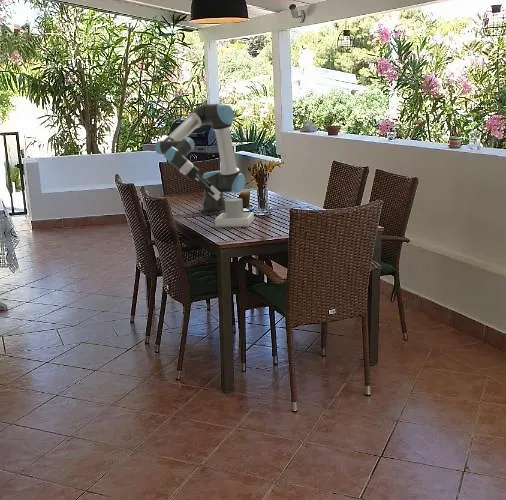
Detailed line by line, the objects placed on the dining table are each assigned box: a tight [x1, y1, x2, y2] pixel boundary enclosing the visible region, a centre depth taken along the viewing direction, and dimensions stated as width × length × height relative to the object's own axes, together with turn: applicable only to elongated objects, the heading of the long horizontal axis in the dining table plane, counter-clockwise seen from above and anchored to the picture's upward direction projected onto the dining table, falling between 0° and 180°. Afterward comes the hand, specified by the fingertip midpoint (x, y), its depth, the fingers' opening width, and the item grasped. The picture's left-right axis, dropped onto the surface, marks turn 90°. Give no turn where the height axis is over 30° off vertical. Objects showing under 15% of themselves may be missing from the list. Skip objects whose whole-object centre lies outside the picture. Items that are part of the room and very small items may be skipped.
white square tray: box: [214, 211, 255, 228], centre depth 385 cm, size 18×18×4 cm
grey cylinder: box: [224, 197, 244, 218], centre depth 384 cm, size 10×10×12 cm
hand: (219, 196), depth 382 cm, fingers open, 13 cm apart
